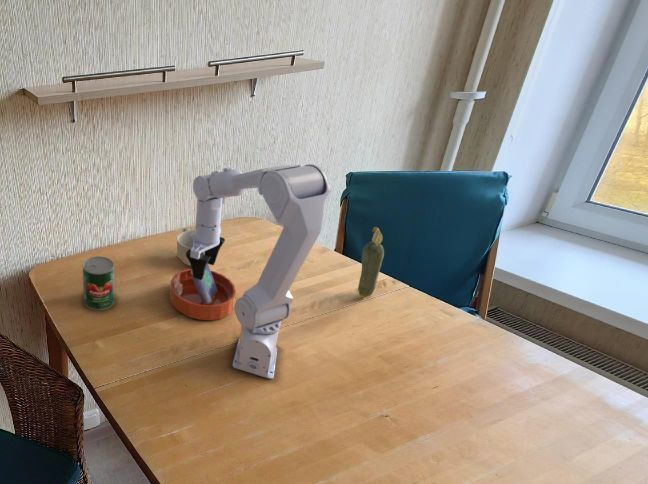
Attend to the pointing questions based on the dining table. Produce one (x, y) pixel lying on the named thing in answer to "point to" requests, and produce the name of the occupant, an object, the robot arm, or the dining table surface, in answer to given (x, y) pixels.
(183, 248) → the teacup
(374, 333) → the dining table surface
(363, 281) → the vegetable
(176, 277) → the terracotta plant saucer
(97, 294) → the canned tomato
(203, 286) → the flask
